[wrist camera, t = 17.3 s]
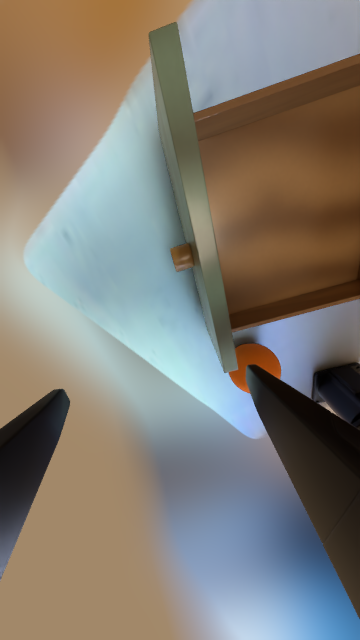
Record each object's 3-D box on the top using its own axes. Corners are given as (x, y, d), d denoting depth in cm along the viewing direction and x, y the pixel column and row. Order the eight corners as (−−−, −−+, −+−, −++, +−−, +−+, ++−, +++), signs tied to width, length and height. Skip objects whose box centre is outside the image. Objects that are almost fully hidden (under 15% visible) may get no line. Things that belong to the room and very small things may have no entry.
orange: (267, 364, 26) (294, 400, 20) (226, 374, 26) (241, 413, 21) (264, 329, 24) (294, 360, 18) (219, 341, 24) (234, 374, 18)
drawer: (350, 290, 21) (440, 319, 14) (194, 333, 22) (205, 378, 15) (385, 48, 13) (633, -162, 6) (138, 136, 14) (110, 46, 7)
